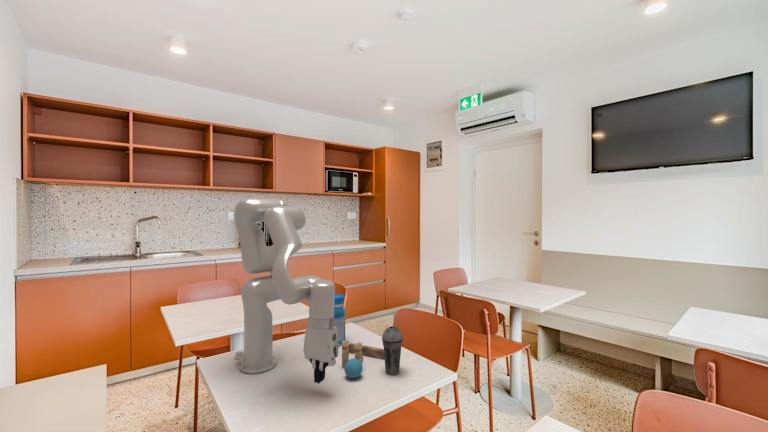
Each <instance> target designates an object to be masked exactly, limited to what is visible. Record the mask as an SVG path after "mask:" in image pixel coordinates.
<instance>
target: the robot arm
mask: <svg viewBox="0 0 768 432" xmlns="http://www.w3.org/2000/svg"><path fill="white" fill-rule="evenodd" d="M233 218H234V219H233V220H234V224H235V227H236V230H237V234H238V235H239V236H238V237H239V243H240V245H239V246H240V253H241V263H242V267H243V270H244V272H245V273H247V274H249V275H256V274H263V273H269V275H263V276H257V277H253V278H250V279H248V280H246V281H245V282H243V284H242V286H241V288H240V298H241V301H242V306H243V327H244V329H243V330H244V331H243V332H244V333H243V335H244V336H243V347H244V348H243V351H236V352H235V356H234V360H235V361H240V363H239V367H238V368H239V369H238V370H240V371H241V372H242V373H244V374H249V375H250V374H251V375H252V374H253V375H255V374H259V373H260V374H261V373H264V372H265V373H266V372H267V371H270V370H272V369H273V368H275V367H276V366H277V364H278V359H277V358H276V357H275V356H273V313H272V311H271V309H270V308H269V306H268V305H267V304H268V303H271V302H275V301H279V300H281V301H282V302H283V303H284V304H286V305H295V304H298V303H299V304H300V303H302V302H306V301H309V303H308V324H307V325H306V329H305V334H304V341H303V355H304V359H305V360H306V361H308V362H309V363H310V364H311V366H312V369H313V382H314V383H317V384H318V385H319V384H321V382H323V381H324V380H325V378H326V368H327V367H334V366H335V365H337V360H336V358H337V357H338V356H339V346H338V334H337V328H336V326H334V325H337V321H335V320H334V302H335V294H336V284H335V283H334V281H332V280H329V279H322V278H321V277H319V276H316V275H314V274H312V275H311V274H310V275H305V276H300V277H294V278H292V277H291V274H290V272H289V267H288V261H289V258H290V257H291V256H293V255H295V254H296V253H298V252H299V251H300V250H301V248H302V246H303V243H302V240H301V238H300V236H299V234H298V231H300V230H301V229H303V228H304V227H305V225H306V223H307V221H306V220H307V219H306V214H305V212H304V211H303V209H301V207H299V206H297V205H295V204H292V203H289V202H287V201H285V200H282V199H278V198H262V197H261V198H260V197H250V198H249V197H248V198H244V199H242V200H240V201H238V202H237V204H236V206H235V208H234V212H233ZM259 222H260V223H263V222H264V223H265V226H266V229H267V231H268V234H269V236H270V239H271V242H272V244H273V245H267V243H266V237H265V233H264V231H263V230H262V228H261V227H260V226H259V225H258V224H257V223H259Z"/></svg>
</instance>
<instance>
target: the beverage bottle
mask: <svg viewBox="0 0 768 432" xmlns="http://www.w3.org/2000/svg"><path fill="white" fill-rule="evenodd" d="M344 301H345V296H344V295H343V294H341V293H340V294H339V293H335V302H334V320H335V321H337V325H334V326H336V328H337V334H338V347H339V346H342V341H345V340H346V320H347V315H346V308H345V306H344V303H345V302H344Z"/></svg>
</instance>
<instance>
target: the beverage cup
mask: <svg viewBox="0 0 768 432" xmlns="http://www.w3.org/2000/svg"><path fill="white" fill-rule="evenodd" d="M395 322H396V313H393V322H392V326H388V327H386V328H385V330H384V331H383V333H382V337H381V340H382V346H383V349H384V358H385V360H384V368H385V374H386V375H388V376H396V375H398V374H399V372H400V366H401V352H402V347H403V346H402V345H403V338H404V337H403V334H402V332H401V330H400V329H399V328H398V327H396V326H395V325H396V323H395Z"/></svg>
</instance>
